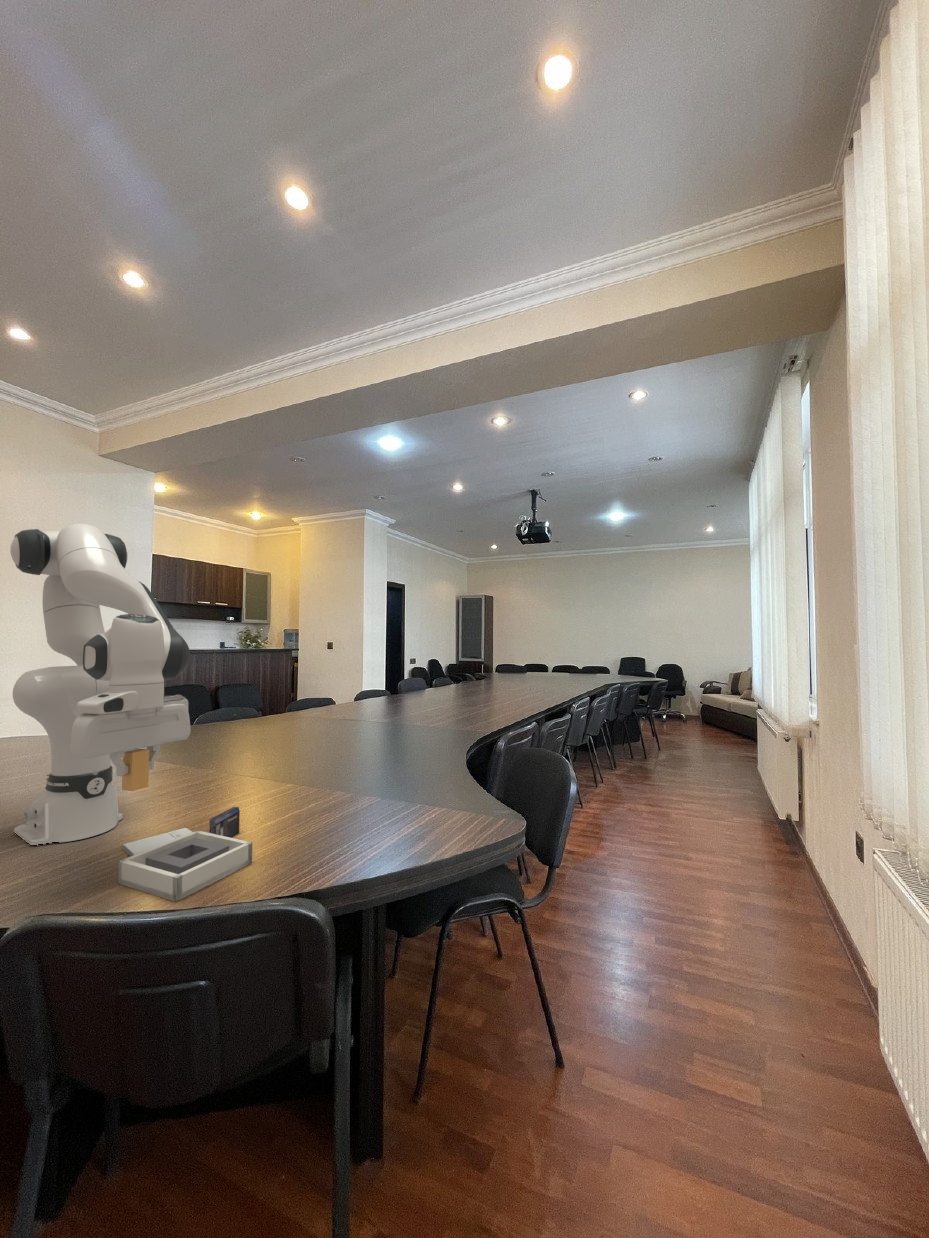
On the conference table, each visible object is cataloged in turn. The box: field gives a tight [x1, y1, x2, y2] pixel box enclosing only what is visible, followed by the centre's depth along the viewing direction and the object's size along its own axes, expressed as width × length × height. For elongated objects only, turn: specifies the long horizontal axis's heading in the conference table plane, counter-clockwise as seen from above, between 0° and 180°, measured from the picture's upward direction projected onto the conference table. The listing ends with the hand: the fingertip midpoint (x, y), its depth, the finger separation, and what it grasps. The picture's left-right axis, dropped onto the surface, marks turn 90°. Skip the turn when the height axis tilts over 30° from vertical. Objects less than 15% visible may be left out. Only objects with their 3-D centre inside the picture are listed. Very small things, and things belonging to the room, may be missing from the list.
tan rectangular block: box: [121, 748, 150, 792], centre depth 92 cm, size 3×3×7 cm
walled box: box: [117, 830, 253, 903], centre depth 93 cm, size 16×16×4 cm
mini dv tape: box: [208, 806, 241, 838], centre depth 109 cm, size 8×2×6 cm, turn 170°
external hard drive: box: [121, 827, 193, 857], centre depth 106 cm, size 2×8×12 cm
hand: (135, 772), depth 92 cm, fingers closed on tan rectangular block, 3 cm apart
